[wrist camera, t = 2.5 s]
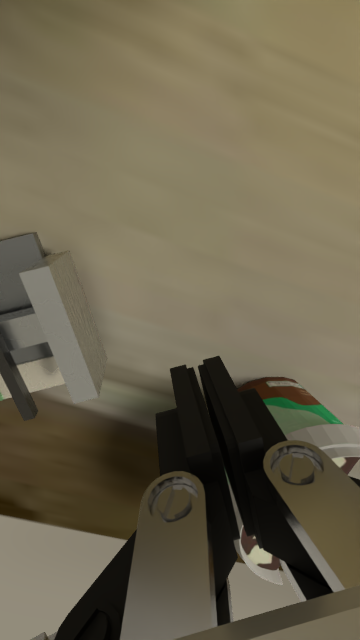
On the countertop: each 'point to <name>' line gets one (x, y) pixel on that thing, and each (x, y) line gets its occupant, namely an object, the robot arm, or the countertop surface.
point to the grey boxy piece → (54, 332)
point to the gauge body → (9, 296)
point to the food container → (304, 425)
